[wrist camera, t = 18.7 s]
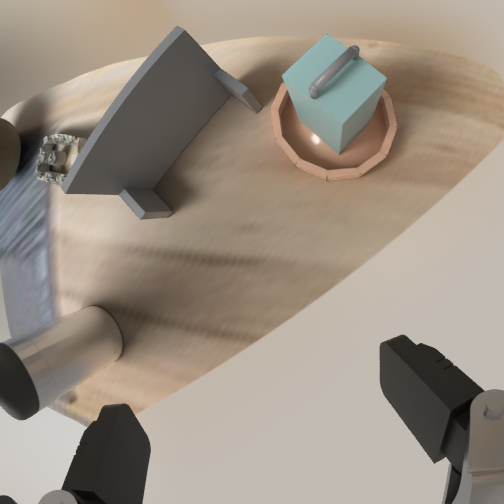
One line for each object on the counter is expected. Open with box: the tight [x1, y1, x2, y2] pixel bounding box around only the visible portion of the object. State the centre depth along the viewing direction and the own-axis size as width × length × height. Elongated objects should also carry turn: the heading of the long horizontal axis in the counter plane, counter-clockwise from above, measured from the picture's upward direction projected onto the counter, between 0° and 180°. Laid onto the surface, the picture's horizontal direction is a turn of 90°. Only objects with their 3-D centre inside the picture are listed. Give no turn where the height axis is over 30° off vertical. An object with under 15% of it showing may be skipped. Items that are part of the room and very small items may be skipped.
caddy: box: [282, 34, 387, 155], centre depth 23 cm, size 6×5×14 cm
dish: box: [270, 81, 397, 181], centre depth 29 cm, size 13×13×2 cm
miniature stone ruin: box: [33, 134, 88, 186], centre depth 38 cm, size 11×8×4 cm
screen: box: [61, 26, 263, 220], centre depth 27 cm, size 5×17×14 cm, turn 137°
